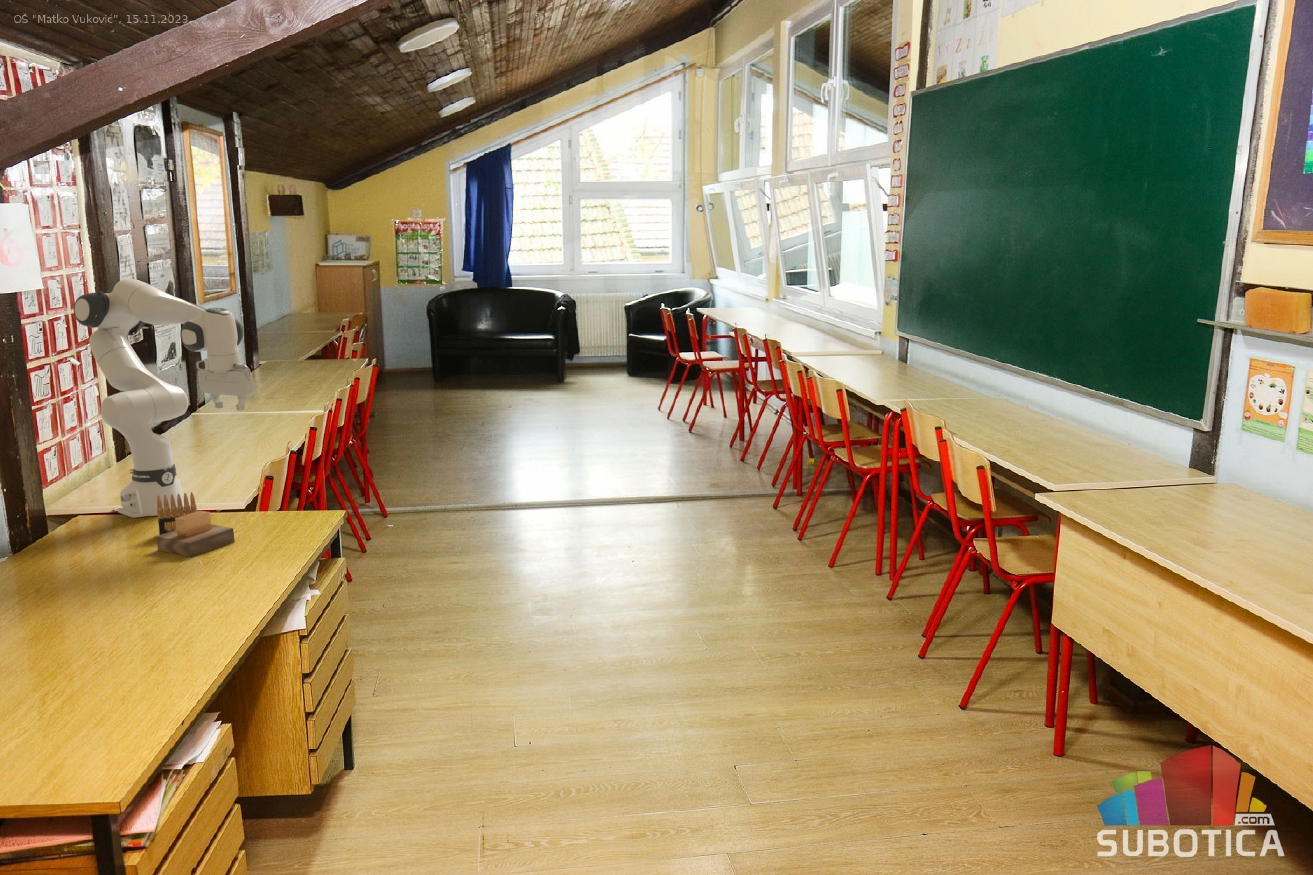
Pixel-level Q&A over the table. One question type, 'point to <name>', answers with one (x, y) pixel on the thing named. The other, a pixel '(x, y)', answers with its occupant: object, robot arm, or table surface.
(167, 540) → the walnut stand
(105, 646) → the table surface
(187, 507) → the ammunition clip
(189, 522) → the light brown wooden block
